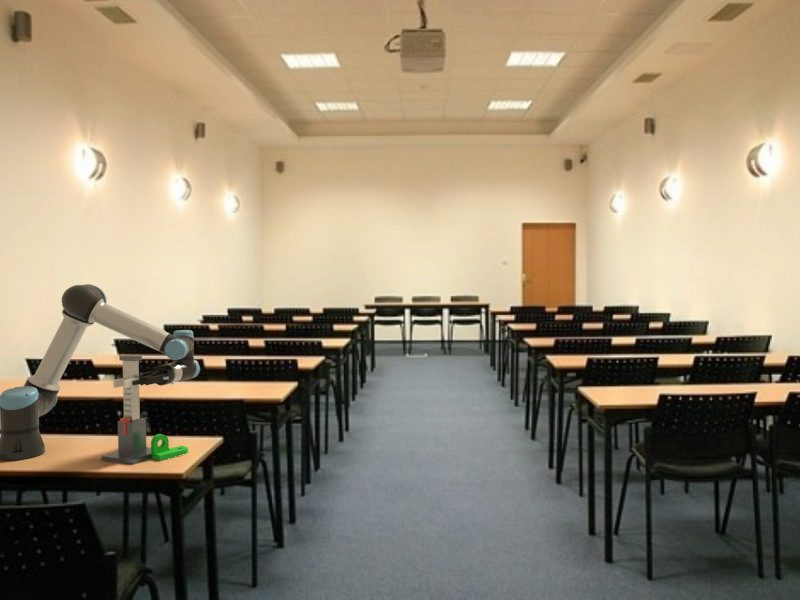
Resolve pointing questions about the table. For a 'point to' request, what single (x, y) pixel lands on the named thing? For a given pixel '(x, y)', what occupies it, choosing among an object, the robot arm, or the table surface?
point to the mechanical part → (165, 448)
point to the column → (133, 392)
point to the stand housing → (130, 443)
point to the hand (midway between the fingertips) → (119, 384)
